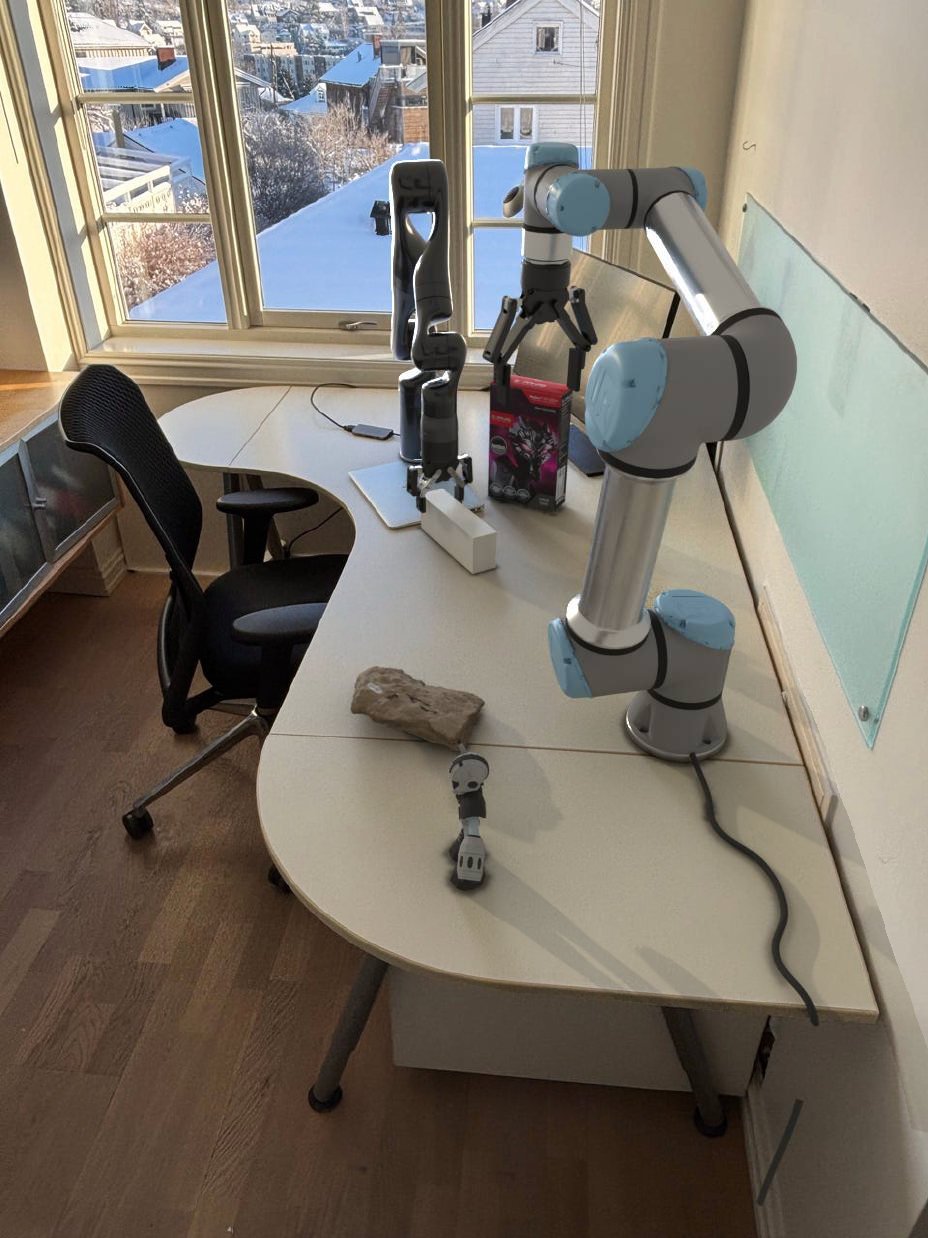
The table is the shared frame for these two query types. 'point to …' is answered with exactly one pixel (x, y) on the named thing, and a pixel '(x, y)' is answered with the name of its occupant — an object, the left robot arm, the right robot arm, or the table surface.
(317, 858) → the table surface
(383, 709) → the stone
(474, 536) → the bar
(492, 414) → the graphics card box
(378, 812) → the table surface
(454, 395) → the left robot arm
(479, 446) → the table surface
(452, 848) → the robot
